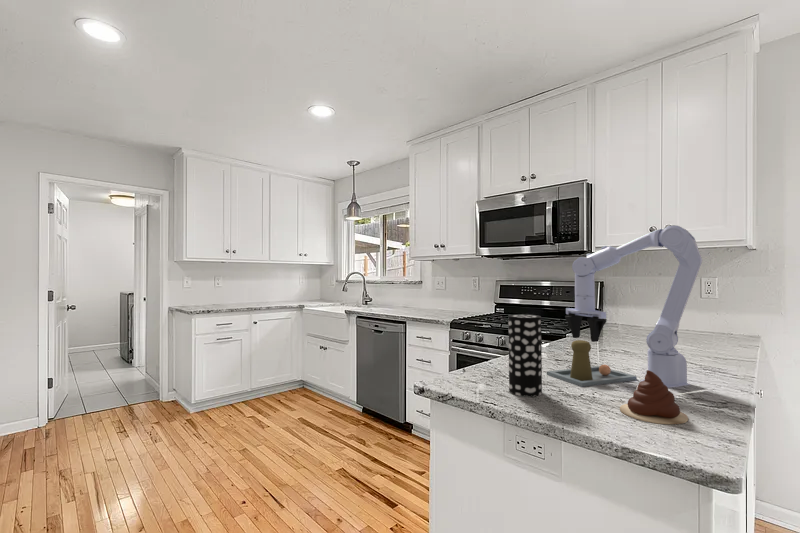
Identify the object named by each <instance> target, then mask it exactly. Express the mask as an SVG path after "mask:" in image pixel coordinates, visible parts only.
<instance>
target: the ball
mask: <svg viewBox="0 0 800 533" xmlns="http://www.w3.org/2000/svg"><path fill="white" fill-rule="evenodd" d="M599 366H600V367H599V372H600V373H601V374H602V375H604V376H607V375H609V374H610V372H611V367H610V366H609V365H608V364H601V365H599Z"/></svg>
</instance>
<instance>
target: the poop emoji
mask: <svg viewBox="0 0 800 533" xmlns="http://www.w3.org/2000/svg"><path fill="white" fill-rule="evenodd" d="M643 380H644V381H640V382H639V383H638V385H637V386H636V389H635V390H634V391H633V394H632V397H630V398H629V399H628V400H627V404H628V408H629V409H630V410H631V411H632V412H634V413H636V414H639V415H644V416H654V415H658V416H661V417H665V418H675V417H677V416H678V415H679V414H680V412H681V408H680V406H679V404H677V403H676V402H675V401H676V400H675V397H676V396H675V395H674V393H673V392H672V391H671V390H669V388H668V387H667V386H666V385H664V383H663V382H662V380H661V379H660V378H659V377H658V376H657V375H656V374H655V373H653V372H652V371H649V370H648V369H647V370H646V374H645V376H644V379H643Z"/></svg>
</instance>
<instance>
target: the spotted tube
mask: <svg viewBox="0 0 800 533" xmlns="http://www.w3.org/2000/svg"><path fill="white" fill-rule="evenodd" d="M507 317H508V391H509V393H511V394H512V395H515V396H519V397H538V396H541V395H543V377H542V376H543V369H542V366H543V364H542V363H543V361H542V360H543V359H542V358H543V357H542V356H543V355H542V354H543V352H542V350H543V349H542V316H541V315H536V314H508V316H507Z"/></svg>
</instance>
